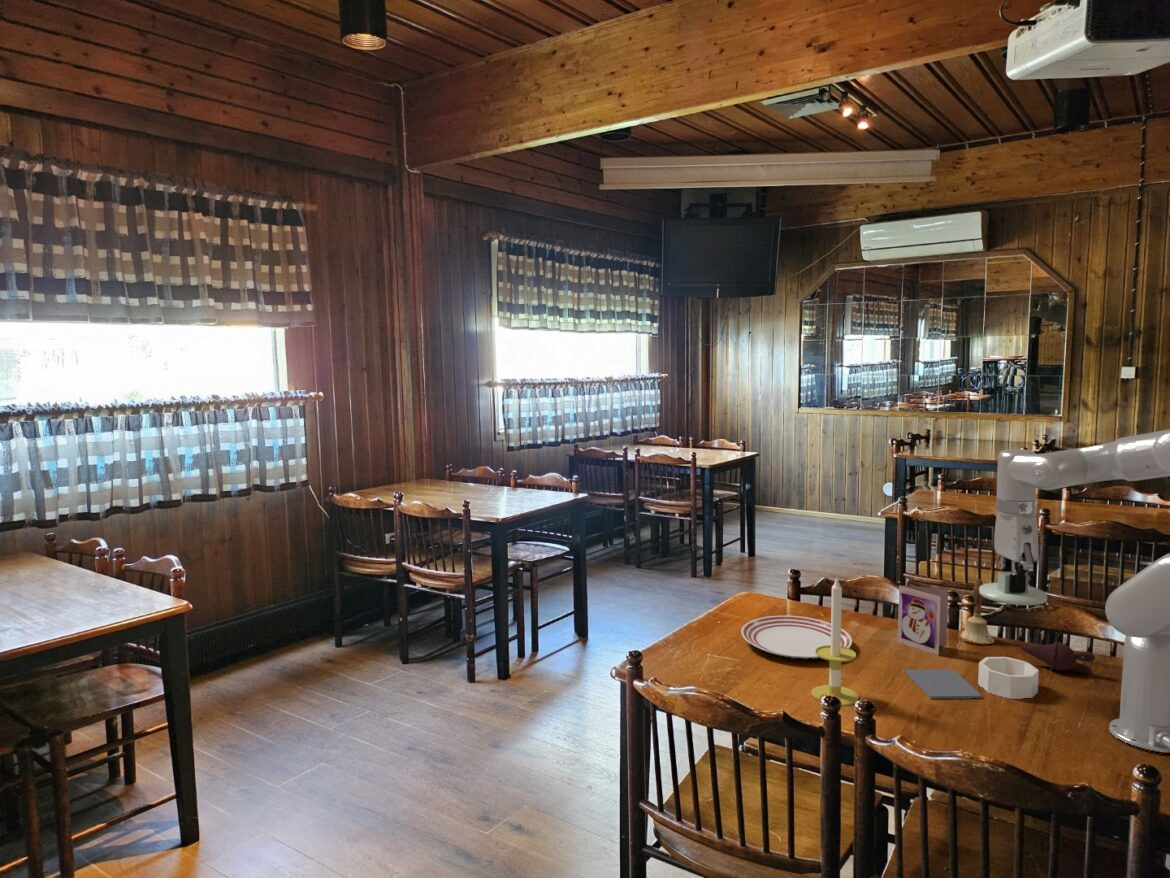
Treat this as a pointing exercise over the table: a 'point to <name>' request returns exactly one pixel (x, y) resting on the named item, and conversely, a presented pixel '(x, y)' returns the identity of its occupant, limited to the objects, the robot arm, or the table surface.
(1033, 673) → the bowl
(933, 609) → the greeting card
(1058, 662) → the icecream
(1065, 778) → the table surface
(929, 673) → the mat
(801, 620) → the dinner plate
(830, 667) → the candle
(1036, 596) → the lid
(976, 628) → the hand bell
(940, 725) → the table surface
